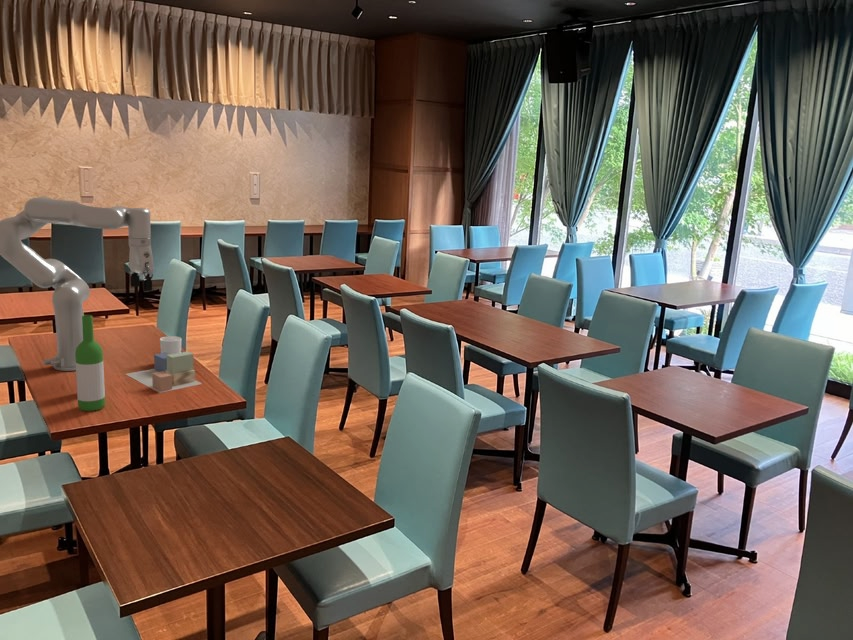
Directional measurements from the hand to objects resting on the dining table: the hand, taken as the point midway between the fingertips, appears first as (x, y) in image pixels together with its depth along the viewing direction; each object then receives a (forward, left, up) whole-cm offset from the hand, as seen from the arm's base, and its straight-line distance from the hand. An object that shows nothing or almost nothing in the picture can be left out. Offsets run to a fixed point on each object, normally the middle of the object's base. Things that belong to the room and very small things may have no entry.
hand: (141, 288), depth 254 cm
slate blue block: (+3, -10, -30) cm, 32 cm away
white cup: (+10, -2, -31) cm, 32 cm away
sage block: (+2, -24, -26) cm, 35 cm away
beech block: (+2, -24, -30) cm, 39 cm away
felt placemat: (-2, -18, -30) cm, 35 cm away
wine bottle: (-32, -31, -31) cm, 54 cm away
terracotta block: (-6, -27, -30) cm, 41 cm away
